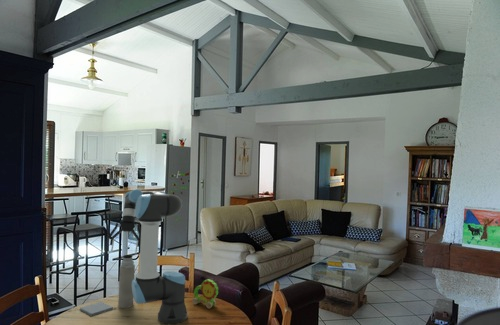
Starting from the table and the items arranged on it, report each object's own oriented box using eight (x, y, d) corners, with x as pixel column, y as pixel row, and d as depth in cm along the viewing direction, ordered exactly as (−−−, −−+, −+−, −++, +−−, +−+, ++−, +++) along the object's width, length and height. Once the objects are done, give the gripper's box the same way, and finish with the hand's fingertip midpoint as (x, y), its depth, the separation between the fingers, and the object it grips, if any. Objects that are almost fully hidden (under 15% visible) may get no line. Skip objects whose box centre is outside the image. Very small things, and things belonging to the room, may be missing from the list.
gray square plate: (112, 309, 186) (112, 307, 186) (91, 316, 176) (91, 313, 176) (100, 303, 193) (101, 301, 193) (79, 310, 183) (80, 307, 183)
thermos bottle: (122, 302, 197) (124, 253, 198) (135, 303, 196) (137, 254, 197) (115, 307, 189) (117, 256, 190) (129, 308, 188) (131, 257, 189)
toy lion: (191, 304, 197) (192, 277, 197) (197, 301, 202) (198, 275, 202) (214, 310, 189) (215, 282, 190) (219, 307, 194) (220, 280, 194)
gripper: (149, 219, 217) (145, 253, 208) (107, 216, 209) (101, 251, 200) (150, 216, 210) (146, 251, 202) (107, 213, 203) (101, 249, 194)
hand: (124, 251), depth 201 cm, fingers open, 13 cm apart
